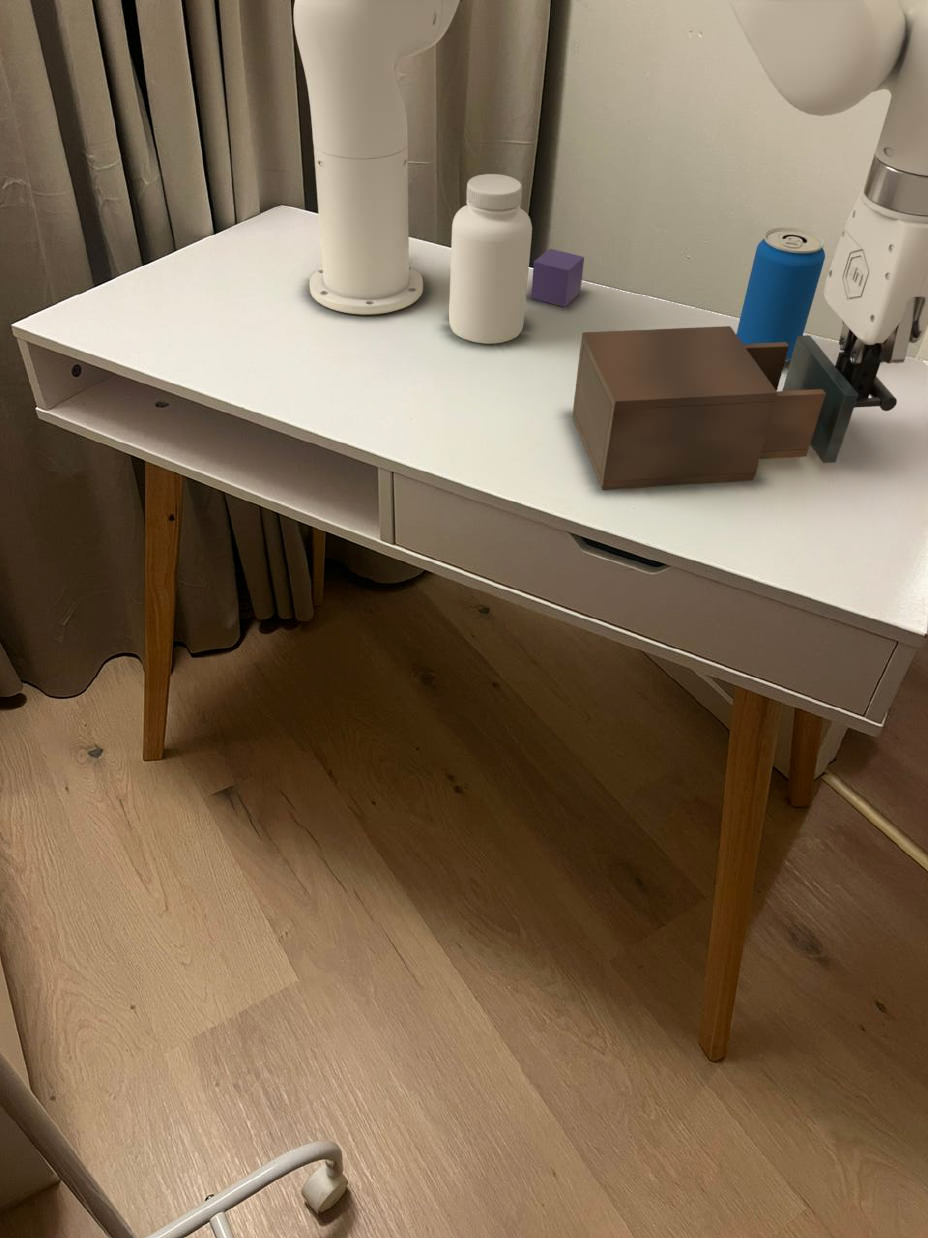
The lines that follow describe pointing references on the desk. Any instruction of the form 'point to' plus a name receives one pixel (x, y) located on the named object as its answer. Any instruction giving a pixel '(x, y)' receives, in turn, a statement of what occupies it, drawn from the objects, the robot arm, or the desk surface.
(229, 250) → the desk surface
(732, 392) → the wooden drawer cabinet
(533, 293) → the block
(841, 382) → the drawer
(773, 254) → the beverage can
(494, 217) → the pill bottle
